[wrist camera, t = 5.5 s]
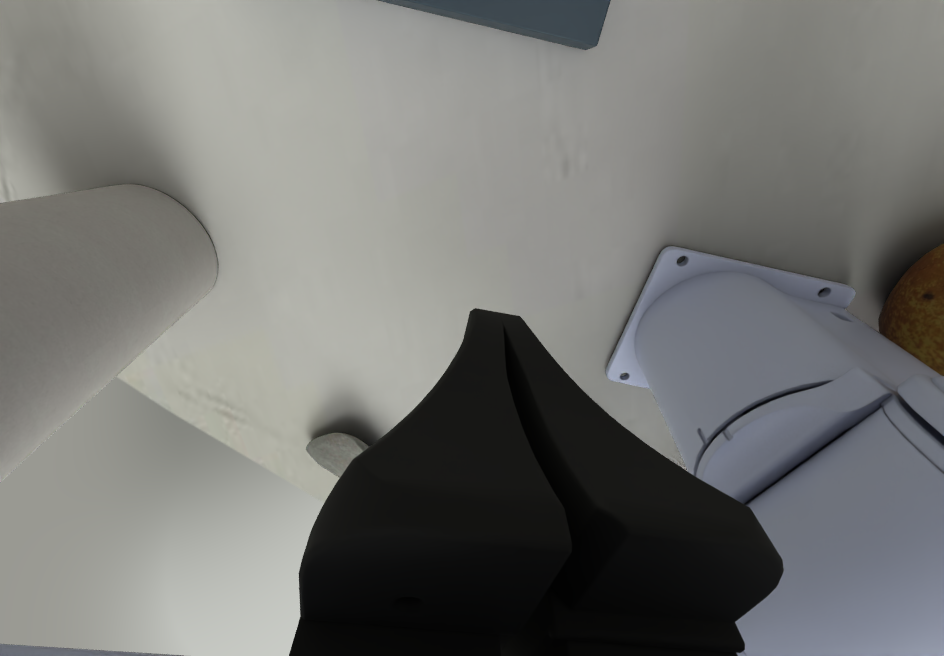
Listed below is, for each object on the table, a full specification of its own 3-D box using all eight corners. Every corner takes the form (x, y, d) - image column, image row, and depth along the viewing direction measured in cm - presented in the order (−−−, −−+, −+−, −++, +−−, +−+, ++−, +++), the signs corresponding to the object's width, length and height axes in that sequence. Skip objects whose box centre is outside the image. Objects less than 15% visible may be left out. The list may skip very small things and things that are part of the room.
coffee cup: (148, 111, 18) (-702, 185, 5) (283, 290, 22) (-17, 571, 10) (20, 201, 21) (-754, 393, 8) (162, 346, 25) (-200, 624, 12)
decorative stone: (413, 511, 33) (458, 505, 30) (407, 527, 32) (453, 523, 29) (306, 436, 28) (346, 421, 25) (296, 452, 28) (336, 438, 25)
